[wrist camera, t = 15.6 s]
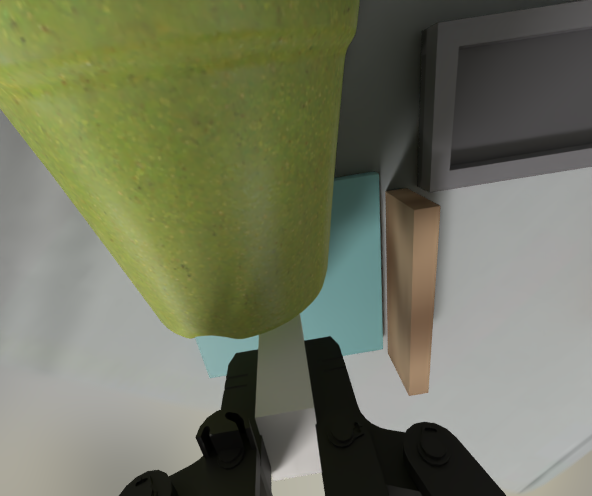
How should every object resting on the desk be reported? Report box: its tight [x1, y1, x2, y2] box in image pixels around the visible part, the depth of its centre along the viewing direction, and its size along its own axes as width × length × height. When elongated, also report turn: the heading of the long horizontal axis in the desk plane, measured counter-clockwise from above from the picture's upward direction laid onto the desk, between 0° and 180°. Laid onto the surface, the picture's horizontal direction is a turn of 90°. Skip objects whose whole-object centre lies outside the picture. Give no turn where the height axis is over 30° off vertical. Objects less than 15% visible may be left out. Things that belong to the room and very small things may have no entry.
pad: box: [195, 171, 383, 378], centre depth 15 cm, size 10×10×1 cm
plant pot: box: [0, 0, 360, 339], centre depth 9 cm, size 9×9×9 cm
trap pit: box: [417, 0, 592, 192], centre depth 12 cm, size 6×11×1 cm, turn 98°
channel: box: [386, 188, 440, 396], centre depth 15 cm, size 10×14×3 cm
